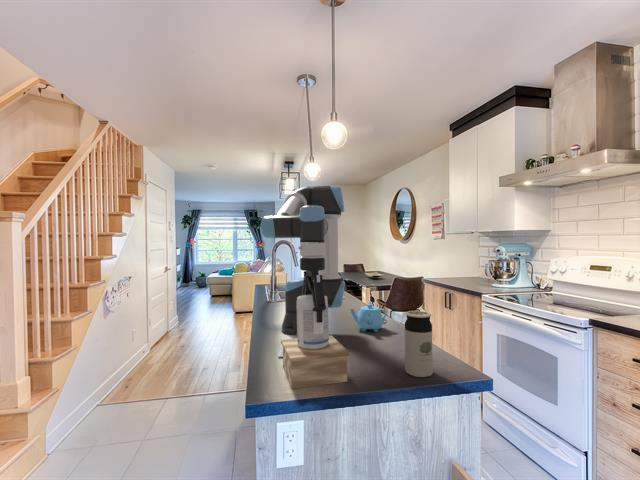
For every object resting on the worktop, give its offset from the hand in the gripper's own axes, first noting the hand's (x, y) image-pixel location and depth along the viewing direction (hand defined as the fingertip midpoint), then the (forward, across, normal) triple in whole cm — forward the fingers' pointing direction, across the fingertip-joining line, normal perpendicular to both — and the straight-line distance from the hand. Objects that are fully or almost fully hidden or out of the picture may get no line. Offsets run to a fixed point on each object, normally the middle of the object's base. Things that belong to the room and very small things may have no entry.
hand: (312, 327), depth 97 cm
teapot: (+14, -41, +36) cm, 56 cm away
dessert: (+15, -20, -1) cm, 25 cm away
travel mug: (+14, +8, +31) cm, 35 cm away
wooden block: (+14, 0, 0) cm, 14 cm away
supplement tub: (+6, 0, 0) cm, 6 cm away
